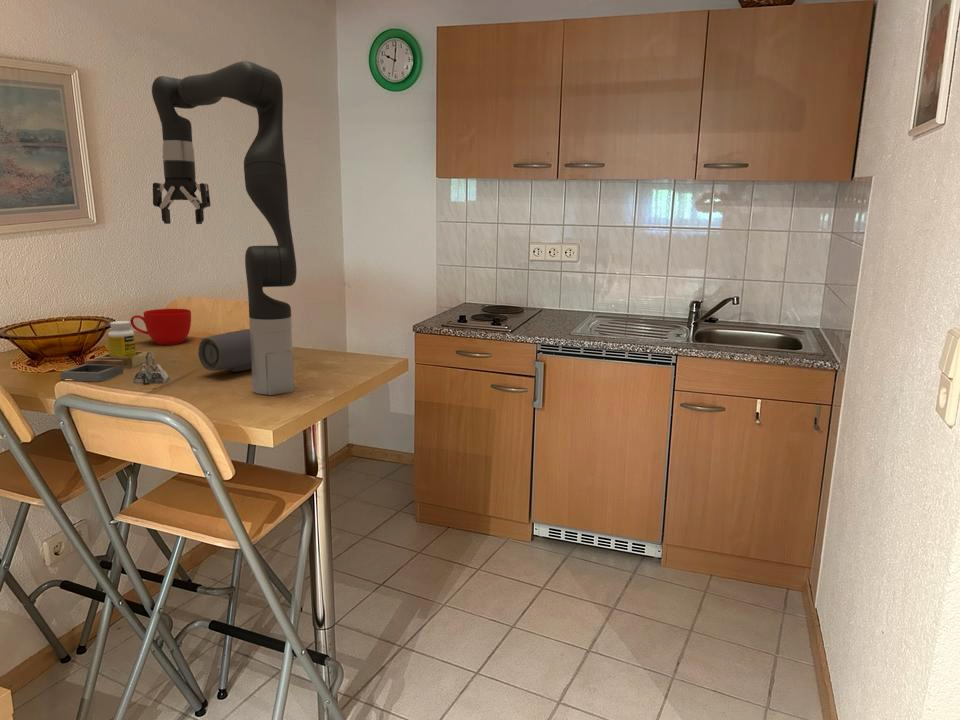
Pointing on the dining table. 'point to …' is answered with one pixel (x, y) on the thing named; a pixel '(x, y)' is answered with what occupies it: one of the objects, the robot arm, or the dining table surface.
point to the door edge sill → (105, 362)
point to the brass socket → (127, 359)
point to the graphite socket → (92, 372)
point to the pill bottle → (121, 340)
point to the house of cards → (149, 376)
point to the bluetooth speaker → (226, 351)
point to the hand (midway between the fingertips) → (183, 223)
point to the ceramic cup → (166, 325)
